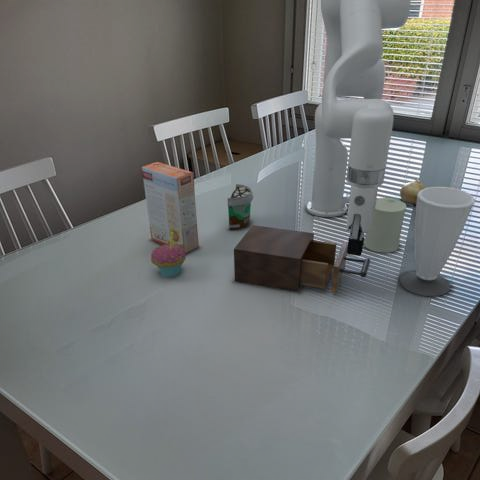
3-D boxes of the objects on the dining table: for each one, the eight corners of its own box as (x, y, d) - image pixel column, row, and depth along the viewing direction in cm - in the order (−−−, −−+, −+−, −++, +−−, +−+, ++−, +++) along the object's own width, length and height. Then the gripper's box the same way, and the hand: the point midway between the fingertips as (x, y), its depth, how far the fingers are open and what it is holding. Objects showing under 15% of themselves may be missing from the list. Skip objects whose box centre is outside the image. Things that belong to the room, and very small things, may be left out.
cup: (424, 302, 107) (447, 210, 94) (389, 278, 115) (405, 192, 102) (461, 288, 111) (488, 199, 98) (424, 267, 119) (444, 182, 106)
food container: (249, 233, 137) (249, 200, 131) (228, 232, 138) (227, 198, 132) (256, 216, 146) (256, 184, 140) (237, 215, 147) (236, 183, 142)
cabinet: (311, 264, 121) (314, 233, 116) (298, 292, 111) (300, 258, 106) (252, 255, 126) (252, 224, 121) (234, 281, 115) (233, 248, 110)
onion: (427, 206, 150) (432, 184, 146) (402, 207, 150) (406, 185, 146) (420, 197, 156) (424, 175, 152) (395, 197, 157) (399, 176, 153)
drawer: (369, 271, 116) (373, 245, 112) (362, 298, 107) (366, 271, 103) (287, 259, 122) (289, 234, 118) (273, 283, 112) (274, 257, 108)
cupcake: (192, 266, 121) (188, 223, 114) (178, 283, 115) (173, 238, 108) (162, 262, 124) (156, 218, 117) (146, 278, 117) (140, 233, 110)
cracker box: (200, 247, 130) (194, 171, 118) (183, 255, 126) (176, 177, 114) (167, 232, 138) (158, 160, 126) (150, 240, 134) (140, 165, 122)
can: (401, 240, 131) (409, 198, 124) (395, 255, 124) (403, 212, 117) (368, 235, 134) (374, 194, 127) (360, 249, 128) (366, 206, 121)
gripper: (380, 189, 91) (366, 272, 102) (388, 164, 102) (375, 241, 113) (340, 185, 93) (331, 266, 104) (352, 160, 104) (343, 236, 115)
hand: (354, 253), depth 108 cm, fingers closed
